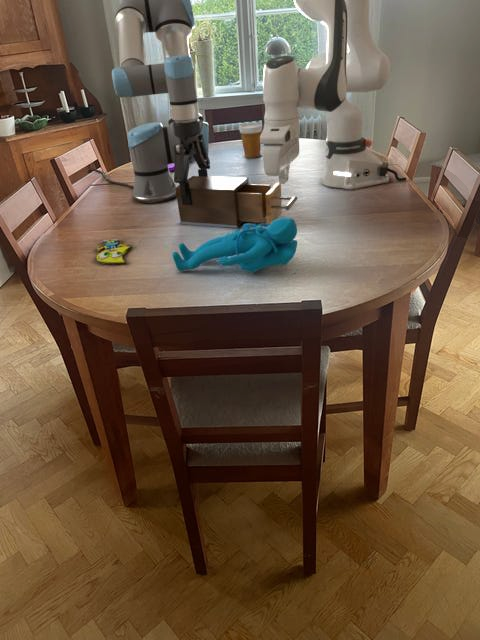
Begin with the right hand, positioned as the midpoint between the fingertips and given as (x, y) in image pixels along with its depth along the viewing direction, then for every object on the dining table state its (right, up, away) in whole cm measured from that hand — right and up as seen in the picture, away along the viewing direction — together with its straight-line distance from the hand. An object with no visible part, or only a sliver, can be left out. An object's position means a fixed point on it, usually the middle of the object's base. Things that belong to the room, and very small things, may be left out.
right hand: (283, 182), depth 131 cm
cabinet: (-19, -7, +14) cm, 25 cm away
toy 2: (-13, -25, -15) cm, 32 cm away
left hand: (-25, -1, +13) cm, 28 cm away
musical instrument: (-39, +28, +70) cm, 85 cm away
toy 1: (-46, -20, -1) cm, 50 cm away
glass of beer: (-7, +32, +72) cm, 79 cm away
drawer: (-7, -8, +9) cm, 14 cm away
